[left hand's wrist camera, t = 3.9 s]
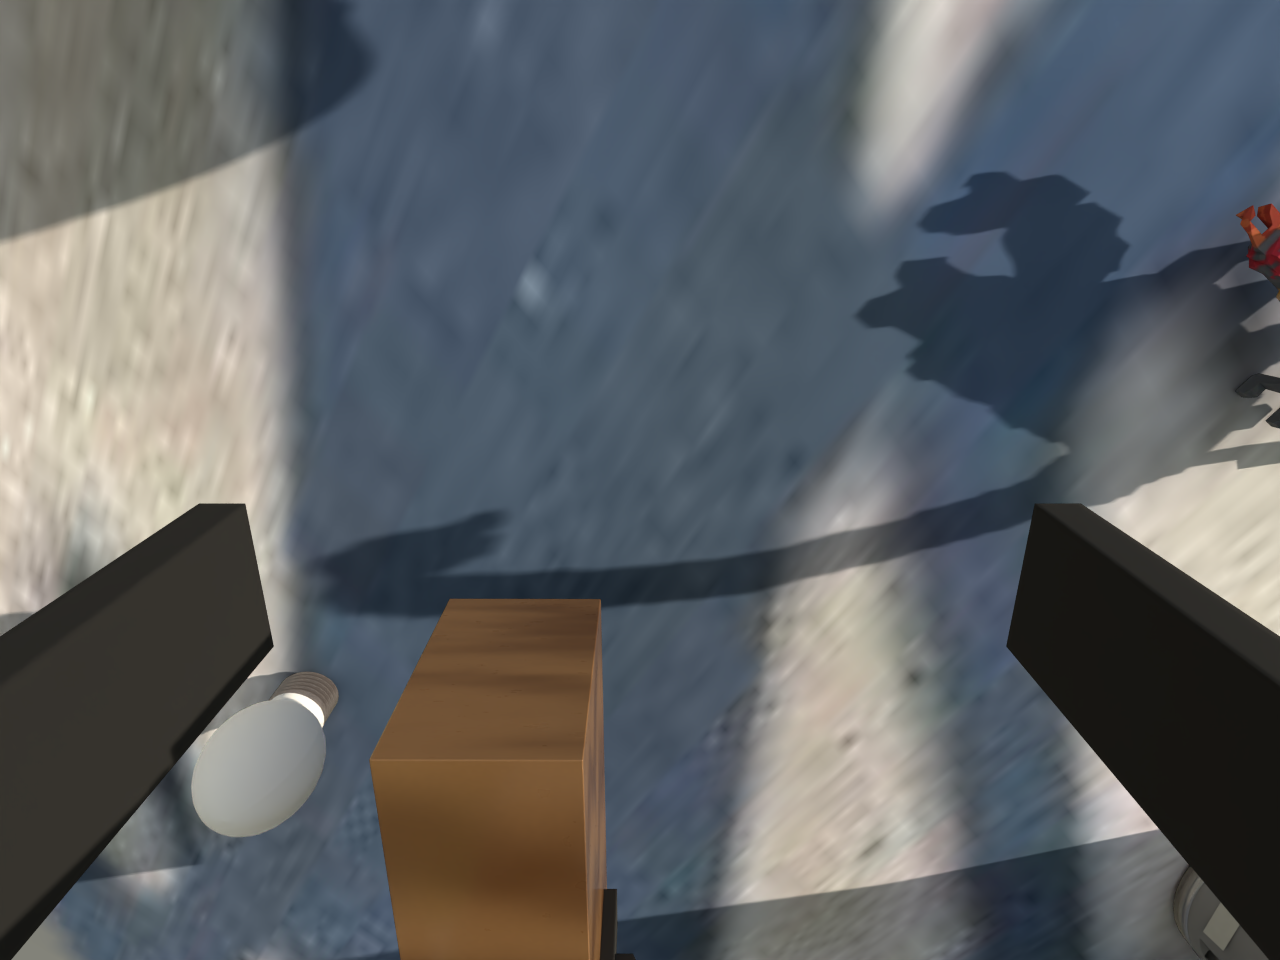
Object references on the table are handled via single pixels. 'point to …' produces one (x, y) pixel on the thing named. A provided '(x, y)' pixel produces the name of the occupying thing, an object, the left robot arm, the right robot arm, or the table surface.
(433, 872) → the box
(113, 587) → the left robot arm
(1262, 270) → the toy
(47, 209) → the table surface
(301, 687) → the light bulb
